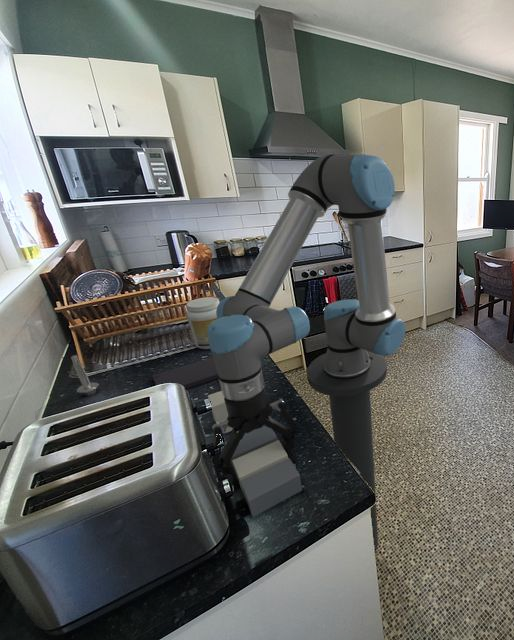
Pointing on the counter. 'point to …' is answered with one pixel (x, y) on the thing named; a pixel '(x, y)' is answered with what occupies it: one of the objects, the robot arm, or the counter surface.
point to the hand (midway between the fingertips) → (263, 471)
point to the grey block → (254, 441)
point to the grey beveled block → (271, 486)
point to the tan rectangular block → (259, 460)
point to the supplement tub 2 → (201, 319)
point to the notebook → (189, 374)
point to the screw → (84, 379)
